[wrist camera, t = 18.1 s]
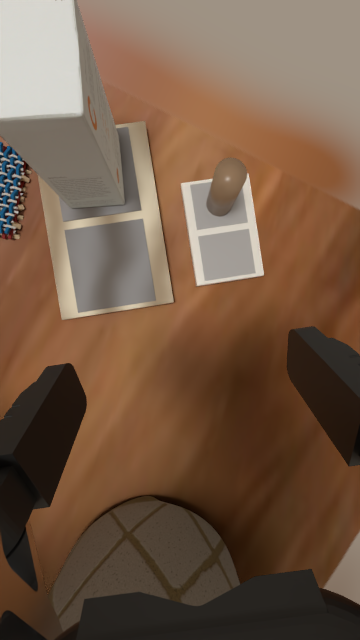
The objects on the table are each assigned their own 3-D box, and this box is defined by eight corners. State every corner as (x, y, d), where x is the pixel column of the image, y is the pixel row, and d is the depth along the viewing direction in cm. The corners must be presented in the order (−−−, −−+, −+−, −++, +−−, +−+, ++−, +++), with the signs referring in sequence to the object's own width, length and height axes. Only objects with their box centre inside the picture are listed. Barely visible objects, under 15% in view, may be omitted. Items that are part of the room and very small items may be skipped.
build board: (66, 319, 30) (61, 319, 28) (37, 144, 29) (30, 135, 28) (173, 302, 30) (173, 302, 29) (146, 128, 30) (144, 119, 28)
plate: (196, 286, 30) (203, 277, 23) (180, 187, 30) (183, 147, 23) (261, 276, 30) (287, 264, 23) (246, 178, 30) (268, 135, 23)
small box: (63, 138, 28) (-32, -15, 15) (119, 135, 28) (73, -21, 15) (70, 210, 28) (-19, 119, 15) (125, 206, 28) (85, 113, 15)
